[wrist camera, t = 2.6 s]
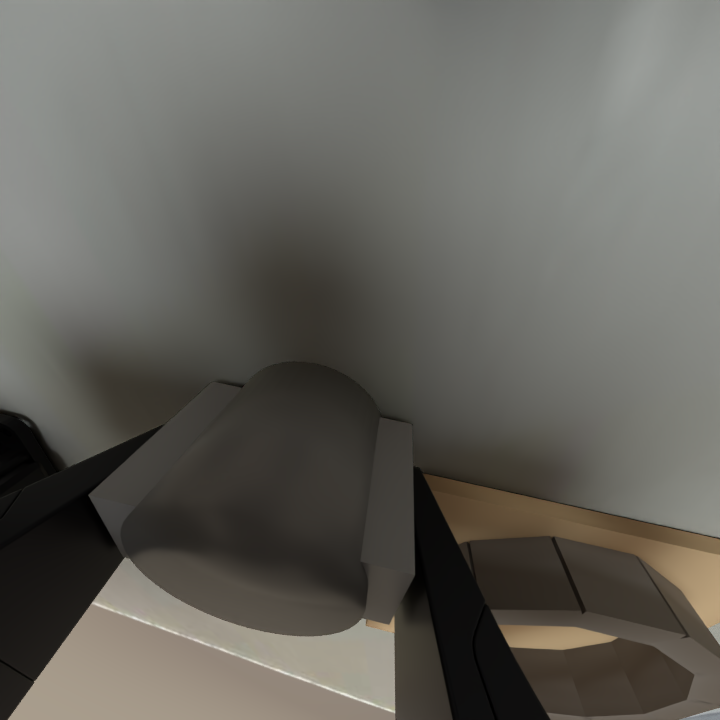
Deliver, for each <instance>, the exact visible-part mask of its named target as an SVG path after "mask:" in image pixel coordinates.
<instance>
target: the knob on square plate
mask: <svg viewBox="0 0 720 720" xmlns="http://www.w3.org/2000/svg"><path fill="white" fill-rule="evenodd" d="M423 475H424V477H425V479H426V481H427V483H428V485H429V487H430V489H431V491H432V493H433V495H434V497H435V499H436V501H437V503H438V505H439V507H440V509H441V511H442V513H443V515H444V517H445V519H446V521H447V523H448V525H449V527H450V529H451V531H452V533H453V535H454V537H455V539H456V541H457V543H458V545H459V547H460V549H461V551H462V553H463V555H464V557H465V559H466V561H467V563H468V565H469V567H470V569H471V571H472V573H473V575H474V577H475V579H476V581H477V583H478V586H479V588H480V590H481V592H482V594H483V596H484V598H485V600H486V603H485V604H488V605H489V607H490V609H491V611H492V614H493V616H494V618H495V620H496V622H497V624H498V626H499V628H500V630H501V631H502V633H503V635H504V637H505V639H506V641H507V643H508V645H509V647H510V649H511V651H512V653H513V655H514V656H515V658H516V660H517V662H518V664H519V665H520V667H521V669H522V671H523V672H524V674H525V676H526V678H527V679H528V681H529V683H530V685H531V686H532V688H533V690H534V692H535V694H536V695H537V697H538V699H539V700H540V702H541V704H542V705H543V707H544V709H545V711H546V712H547V714H548V716H549V717H550V719H551V720H679V719H682V718H686V717H689V716H692V715H696V714H699V713H703V712H706V711H710V710H713V709H716V708H720V645H719V644H718V642H717V641H716V639H715V638H714V637H713V635H712V634H711V632H710V631H709V629H708V628H709V627H711V626H713V625H715V624H717V623H719V622H720V539H716V538H712V537H707V536H703V535H698V534H694V533H689V532H685V531H680V530H676V529H671V528H667V527H662V526H658V525H653V524H649V523H644V522H640V521H636V520H631V519H627V518H622V517H618V516H613V515H609V514H604V513H600V512H595V511H591V510H586V509H582V508H577V507H573V506H568V505H564V504H559V503H555V502H550V501H546V500H541V499H537V498H532V497H528V496H523V495H519V494H514V493H510V492H505V491H501V490H496V489H492V488H487V487H483V486H478V485H474V484H469V483H465V482H460V481H456V480H451V479H447V478H442V477H438V476H433V475H429V474H424V473H423ZM366 626H369V627H373V628H377V629H380V630H384V631H388V632H392V633H394V616H393V618H392V620H391V622H390V624H389V625H387V624H383V623H379V622H375V621H372V620H368V619H366Z"/></svg>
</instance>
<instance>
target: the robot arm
mask: <svg viewBox="0 0 720 720" xmlns="http://www.w3.org/2000/svg"><path fill="white" fill-rule="evenodd" d="M164 425H165V424H164ZM164 425H161V426H159V427H157V428H155V429H153V430H150V431H148V432H146V433H144V434H141V435H139V436H137V437H135V438H133V439H130V440H128V441H126V442H124V443H122V444H119V445H117V446H115V447H113V448H111V449H108V450H106V451H104V452H102V453H100V454H97V455H95V456H93V457H91V458H89V459H86V460H84V461H82V462H80V463H77V464H75V465H73V466H71V467H69V468H66V469H64V470H62V471H60V472H58V473H56V471H55V469H54V468H53V466H52V465H51V463H50V461H49V460H48V458H47V456H46V455H45V453H44V452H43V450H42V448H41V447H40V445H39V443H38V442H37V440H36V439H35V437H34V435H33V434H32V432H31V431H30V429H29V427H28V426H27V425H26V424H25V423H24V422H22V421H21V420H19V419H18V418H15V417H12V416H8V415H4V414H0V720H8V718H9V717H10V716H11V714H12V713H13V711H14V710H15V709H16V707H17V706H18V705H19V703H20V702H21V700H22V699H23V697H24V696H25V695H26V693H27V692H28V690H29V689H30V688H31V686H32V685H33V684H34V681H35V680H36V679H37V677H38V676H39V675H40V673H41V672H42V671H43V670H44V668H45V667H46V665H47V664H48V663H49V661H50V660H51V658H52V657H53V656H54V654H55V653H56V651H57V650H58V649H59V647H60V646H61V645H62V643H63V642H64V641H65V639H66V638H67V636H68V635H69V634H70V632H71V631H72V629H73V628H74V627H75V625H76V624H77V623H78V621H79V620H80V618H81V617H82V616H83V614H84V613H85V611H86V610H87V609H88V607H89V606H90V604H91V603H92V602H93V600H94V599H95V598H96V596H97V595H98V594H99V592H100V591H101V589H102V588H103V587H104V585H105V584H106V582H107V581H108V580H109V578H110V577H111V576H112V574H113V573H114V571H115V570H116V569H117V567H118V566H119V564H120V563H121V562H122V560H123V559H124V558H125V557H123V556H122V554H121V552H120V551H119V549H118V547H117V545H116V543H115V542H114V540H113V538H112V536H111V535H110V533H109V531H108V529H107V527H106V526H105V524H104V522H103V520H102V519H101V517H100V515H99V513H98V512H97V510H96V508H95V506H94V504H93V503H92V501H91V499H90V497H89V496H88V495H89V494H90V493H91V492H92V491H93V490H94V489H95V488H96V487H98V486H99V485H100V484H101V483H102V482H103V481H104V480H105V479H106V478H107V477H108V476H110V475H111V474H112V473H113V472H114V471H115V470H116V469H117V468H118V467H119V466H120V465H122V464H123V463H124V462H125V461H126V460H127V459H128V458H129V457H130V456H131V455H133V454H134V453H135V452H136V451H137V450H138V449H139V448H140V447H141V446H142V445H143V444H145V443H146V442H147V441H148V440H149V439H150V438H151V437H152V436H153V435H154V434H155V433H157V432H158V431H159V430H160V429H161V428H162V427H163V426H164ZM413 489H414V547H415V576H414V578H413V580H412V582H411V584H410V586H409V587H408V589H407V591H406V593H405V595H404V597H403V599H402V601H401V603H400V605H399V607H398V609H397V611H396V613H395V615H394V633H395V717H396V720H551V719H550V717H549V716H548V714H547V712H546V711H545V709H544V707H543V705H542V704H541V702H540V700H539V699H538V697H537V695H536V694H535V692H534V690H533V688H532V686H531V685H530V683H529V681H528V679H527V678H526V676H525V674H524V672H523V671H522V669H521V667H520V665H519V664H518V662H517V660H516V658H515V656H514V655H513V653H512V651H511V649H510V647H509V645H508V643H507V641H506V639H505V637H504V635H503V633H502V631H501V630H500V628H499V626H498V624H497V622H496V620H495V618H494V616H493V614H492V611H491V609H490V607H489V605H488V604H485V603H486V600H485V598H484V596H483V594H482V592H481V590H480V588H479V586H478V583H477V581H476V579H475V577H474V575H473V573H472V571H471V569H470V567H469V565H468V563H467V561H466V559H465V557H464V555H463V553H462V551H461V549H460V547H459V545H458V543H457V541H456V539H455V537H454V535H453V533H452V531H451V529H450V527H449V525H448V523H447V521H446V519H445V517H444V515H443V513H442V511H441V509H440V507H439V505H438V503H437V501H436V499H435V497H434V495H433V493H432V491H431V489H430V487H429V485H428V483H427V481H426V479H425V477H424V475H423V473H422V471H421V469H420V468H419V467H416V466H413Z"/></svg>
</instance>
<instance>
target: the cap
mask: <svg viewBox="0 0 720 720" xmlns="http://www.w3.org/2000/svg"><path fill="white" fill-rule="evenodd" d="M88 496H89V497H90V499H91V501H92V503H93V504H94V506H95V508H96V510H97V512H98V513H99V515H100V517H101V519H102V520H103V522H104V524H105V526H106V527H107V529H108V531H109V533H110V535H111V536H112V538H113V540H114V542H115V543H116V545H117V547H118V549H119V551H120V552H121V554H122V556H123V557H126V558H129V559H131V561H132V562H133V563H134V564H135V565H136V567H137V568H138V569H139V570H140V571H141V572H142V573H143V574H144V575H145V576H146V577H148V578H149V579H150V580H151V581H152V582H154V583H155V584H156V585H158V586H159V587H160V588H162V589H163V590H165V591H166V592H168V593H169V594H171V595H172V596H174V597H176V598H177V599H179V600H181V601H183V602H185V603H186V604H188V605H190V606H192V607H194V608H196V609H198V610H201V611H203V612H205V613H207V614H210V615H212V616H215V617H217V618H220V619H222V620H225V621H228V622H231V623H234V624H237V625H241V626H244V627H247V628H251V629H255V630H260V631H264V632H270V633H275V634H282V635H292V636H322V635H329V634H334V633H338V632H342V631H344V630H347V629H349V628H351V627H352V626H354V625H355V624H357V623H358V622H359V621H360V620H361V618H364V619H368V620H372V621H375V622H379V623H383V624H387V625H389V624H390V622H391V620H392V618H393V616H394V615H395V613H396V611H397V609H398V607H399V605H400V603H401V601H402V599H403V597H404V595H405V593H406V591H407V589H408V587H409V586H410V584H411V582H412V580H413V578H414V576H415V547H414V489H413V432H412V424H409V423H405V422H400V421H395V420H391V419H386V418H382V417H381V414H380V411H379V409H378V407H377V405H376V404H375V402H374V401H373V399H372V398H371V397H370V395H369V394H368V393H367V392H366V391H365V390H364V389H363V388H362V387H361V386H359V385H358V384H357V383H356V382H355V381H353V380H352V379H350V378H349V377H347V376H346V375H344V374H342V373H340V372H338V371H336V370H333V369H331V368H328V367H325V366H322V365H318V364H313V363H307V362H285V363H280V364H275V365H272V366H269V367H267V368H265V369H263V370H261V371H259V372H258V373H256V374H255V375H254V376H253V377H252V378H251V379H250V380H249V381H248V382H247V383H246V384H245V385H244V386H243V388H241V387H236V386H231V385H227V384H222V383H217V382H211V383H210V384H209V385H208V386H207V387H206V388H205V389H204V390H202V391H201V392H200V393H199V394H198V395H197V396H196V397H195V398H194V399H193V400H191V401H190V402H189V403H188V404H187V405H186V406H185V407H184V408H183V409H182V410H181V411H179V412H178V413H177V414H176V415H175V416H174V417H173V418H172V419H171V420H170V421H169V422H167V423H166V424H165V425H164V426H163V427H162V428H161V429H160V430H159V431H158V432H157V433H155V434H154V435H153V436H152V437H151V438H150V439H149V440H148V441H147V442H146V443H145V444H143V445H142V446H141V447H140V448H139V449H138V450H137V451H136V452H135V453H134V454H133V455H131V456H130V457H129V458H128V459H127V460H126V461H125V462H124V463H123V464H122V465H120V466H119V467H118V468H117V469H116V470H115V471H114V472H113V473H112V474H111V475H110V476H108V477H107V478H106V479H105V480H104V481H103V482H102V483H101V484H100V485H99V486H98V487H96V488H95V489H94V490H93V491H92V492H91V493H90V494H89V495H88Z"/></svg>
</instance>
